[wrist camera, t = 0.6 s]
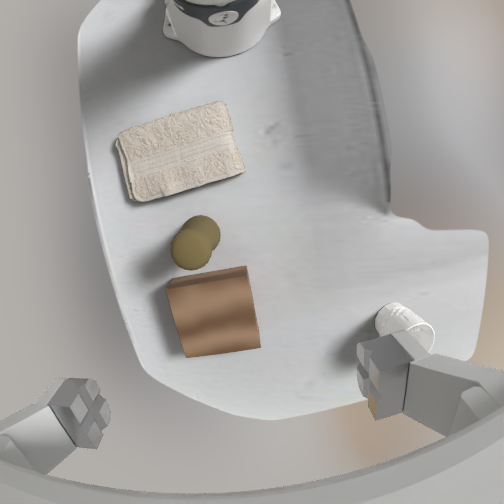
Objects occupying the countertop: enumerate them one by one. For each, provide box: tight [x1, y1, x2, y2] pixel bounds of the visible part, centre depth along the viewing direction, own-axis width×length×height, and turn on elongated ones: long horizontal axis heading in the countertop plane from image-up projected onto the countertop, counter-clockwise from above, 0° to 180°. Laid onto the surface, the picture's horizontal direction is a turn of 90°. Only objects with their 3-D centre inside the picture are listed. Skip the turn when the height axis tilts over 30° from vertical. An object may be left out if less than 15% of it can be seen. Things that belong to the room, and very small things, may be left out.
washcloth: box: [115, 101, 245, 202], centre depth 43 cm, size 12×18×3 cm, turn 105°
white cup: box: [375, 303, 435, 353], centre depth 47 cm, size 8×8×10 cm
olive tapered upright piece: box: [170, 215, 220, 270], centre depth 42 cm, size 6×6×11 cm
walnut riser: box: [166, 266, 261, 358], centre depth 48 cm, size 12×12×5 cm
